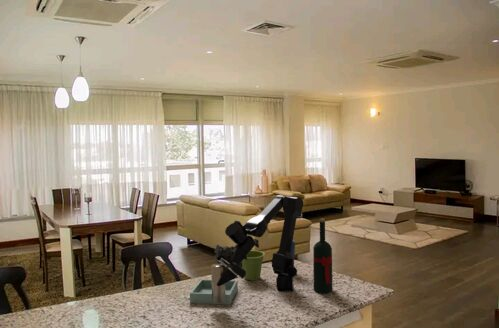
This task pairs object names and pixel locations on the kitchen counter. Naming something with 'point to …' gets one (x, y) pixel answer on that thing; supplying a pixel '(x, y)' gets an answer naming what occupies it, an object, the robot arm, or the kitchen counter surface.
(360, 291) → the kitchen counter surface
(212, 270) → the canister
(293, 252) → the cup
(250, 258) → the plant pot
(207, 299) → the tray
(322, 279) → the wine bottle
